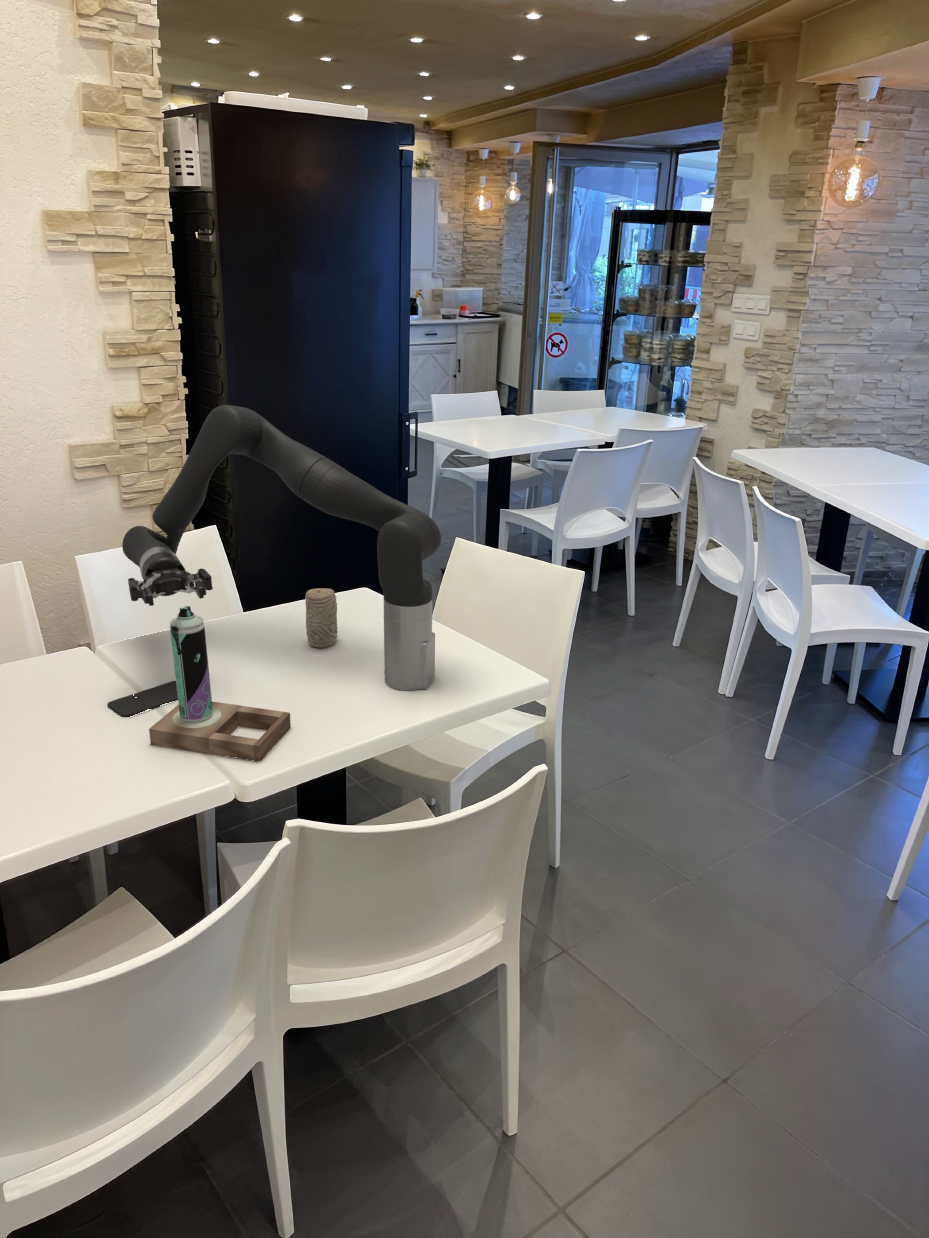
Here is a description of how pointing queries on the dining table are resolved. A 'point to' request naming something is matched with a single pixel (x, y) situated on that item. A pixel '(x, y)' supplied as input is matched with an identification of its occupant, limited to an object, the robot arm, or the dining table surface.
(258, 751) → the walnut tray
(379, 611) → the dining table surface
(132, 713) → the phone
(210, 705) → the spray can
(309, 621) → the carving
